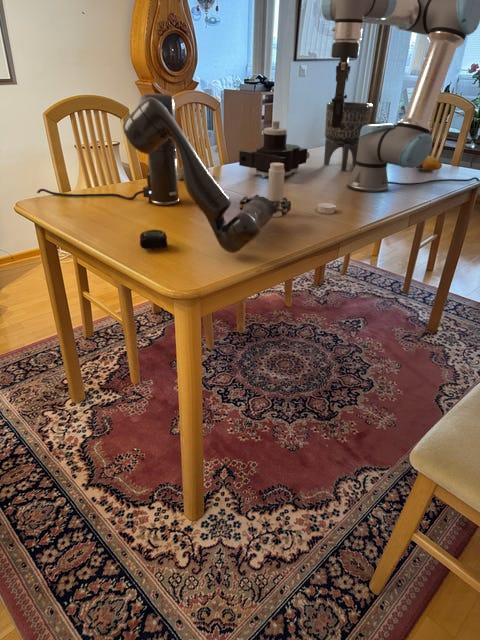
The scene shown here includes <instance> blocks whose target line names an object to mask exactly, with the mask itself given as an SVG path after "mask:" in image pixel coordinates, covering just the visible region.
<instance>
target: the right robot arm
mask: <svg viewBox="0 0 480 640" xmlns="http://www.w3.org/2000/svg"><path fill="white" fill-rule="evenodd" d="M320 9H321V10H320V11H321V15H322V17H323V19H325V20H326V21H329V22H334V26H333V27H332V28H331V32H333V37H332V40H333V41H334V42H333V43H332V45H331V54H330V57H331V58H332V59H340V60H339V62H338V65H336V66H335V82H336V86H335V92H334V98H333V97H332V98H331V102H334V106H333V115H332V124H331V127H333V128H341V122H342V116H343V108H344V102H345V100H347V99H348V95H347V94H346V88H347V87H346V86H347V82H348V81H349V77H350V75H349V74H350V73H351V65H350V62H349V59H358V58H359V56H360V55H359V54H360V47H361V44H360V43H359V41H361V40H362V34H363V25H364V24H372V25H381V26H393V27H395V28H396V29H397V30H399V31H405V32H410V33H415V34H418V35H425V36H427V39H428V41H429V45H428V48H427V51H426V54H425V57H424V60H423V62H422V65H421V68H420V71H419V73H418V77H417V79H416V82H415V85H414V88H413V91H412V93H411V96H410V99H409V101H408V105H407V108H406V110H405V113H404V115H403V118H402V119H400V120H399V121H397V123H396V125H394V124H393V123H379V124H378V123H377V124H376V123H375V124H369V125H365V126H363V127H362V128H361V132H360V136H359V142H358V150H357V158H356V165H355V166H354V167H353V171H351V174H350V176H349V179H348V182H347V187H348V188H349V189H351V190H354V191H358V192H363V193H364V192H365V193H382V192H386V191H388V189H389V185H399V186H416V185H423V184H425V185H426V184H428V183H436V182H470V181H473V180H476V181H477V182H480V179H479V178H478V177H477V176H473V177H471V178H466V179H464V178H463V179H461V178H460V179H459V178H443V179H430V180H424V181H419V182H397V181H389V178H388V173H387V172H388V171H387V166H388V164H389V165H392V166H393V165H394V166H396V167H397V166H398V167H401V168H409V169H414V168H416V167H418V166H419V165H420V164H422V163H423V162H424V161H425V160H426V158H427V157H429V155H430V154H431V151H432V148H433V144H432V143H433V137H432V135H430V133H431V131H432V130H431V128H430V125H429V123H430V121H431V118H432V115H433V113H434V110H435V107H436V104H437V101H438V99H439V96H440V94H441V91H442V88H443V87H444V84H445V81H446V78H447V75H448V72H449V69H450V67H451V64H452V62H453V58H454V56H455V53H456V51H457V49H458V48H459V47H460V46H462V45H464V43H465V40H466V38H467V36H470V35H472V34H473V33H475V31H476V30H477V29H478V27H479V25H480V0H321V8H320Z"/></svg>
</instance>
